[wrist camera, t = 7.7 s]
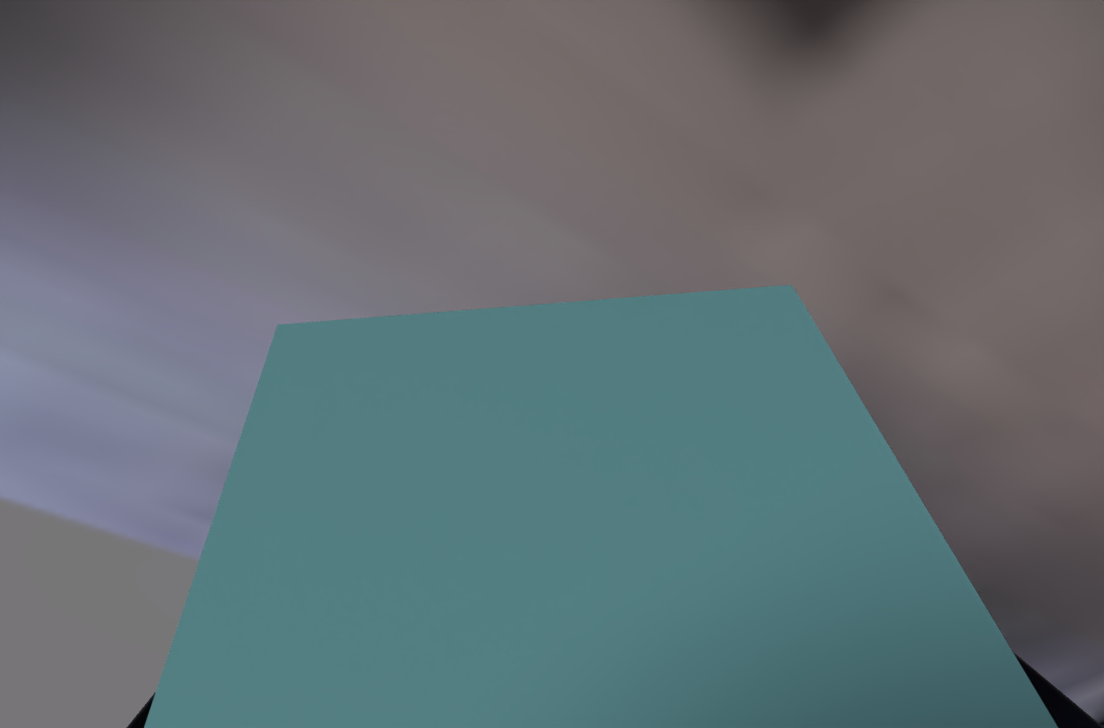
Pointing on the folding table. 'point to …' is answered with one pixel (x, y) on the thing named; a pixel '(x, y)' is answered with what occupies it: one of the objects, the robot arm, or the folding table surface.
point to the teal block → (578, 535)
